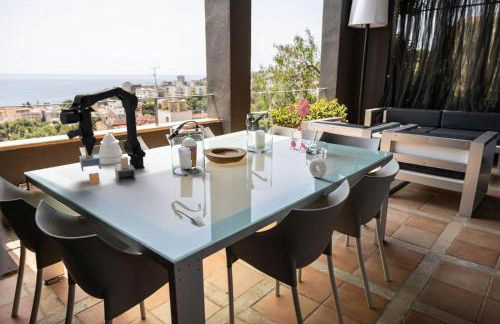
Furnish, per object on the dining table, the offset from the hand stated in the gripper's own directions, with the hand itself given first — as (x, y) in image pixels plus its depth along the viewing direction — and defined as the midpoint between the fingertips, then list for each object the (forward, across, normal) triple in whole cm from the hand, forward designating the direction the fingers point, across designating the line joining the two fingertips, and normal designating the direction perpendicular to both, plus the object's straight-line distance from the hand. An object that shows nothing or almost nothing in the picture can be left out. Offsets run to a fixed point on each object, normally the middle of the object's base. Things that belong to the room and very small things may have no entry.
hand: (89, 154), depth 163 cm
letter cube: (+12, +6, 0) cm, 14 cm away
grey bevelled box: (+12, +6, +14) cm, 20 cm away
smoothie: (+13, +4, +49) cm, 50 cm away
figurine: (+14, -8, +134) cm, 135 cm away
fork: (+13, +65, +26) cm, 71 cm away
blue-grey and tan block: (+6, 0, 0) cm, 6 cm away
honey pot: (+13, -33, +13) cm, 38 cm away
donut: (+13, +48, +100) cm, 112 cm away
